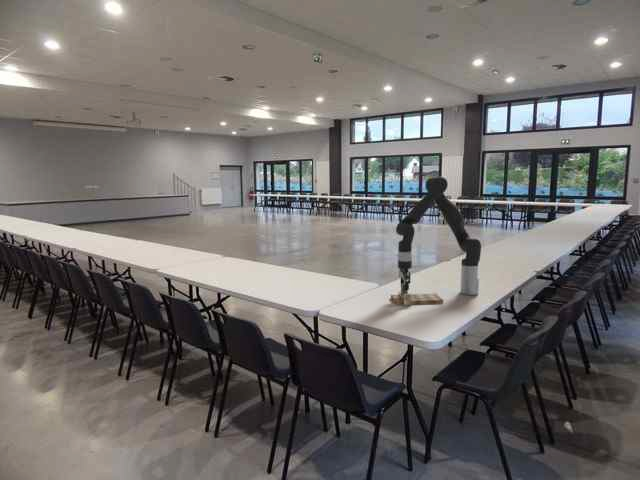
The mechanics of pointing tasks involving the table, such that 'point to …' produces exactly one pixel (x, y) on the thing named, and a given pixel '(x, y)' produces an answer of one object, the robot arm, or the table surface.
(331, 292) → the table surface
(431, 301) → the board
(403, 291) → the cream flanged bar
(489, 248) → the table surface
